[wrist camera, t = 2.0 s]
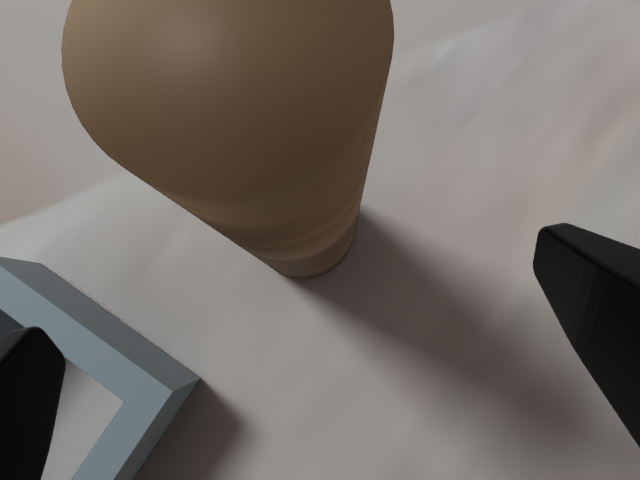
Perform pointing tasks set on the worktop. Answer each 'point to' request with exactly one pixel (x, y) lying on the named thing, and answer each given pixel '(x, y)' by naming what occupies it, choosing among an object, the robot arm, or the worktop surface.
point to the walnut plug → (239, 111)
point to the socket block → (100, 364)
